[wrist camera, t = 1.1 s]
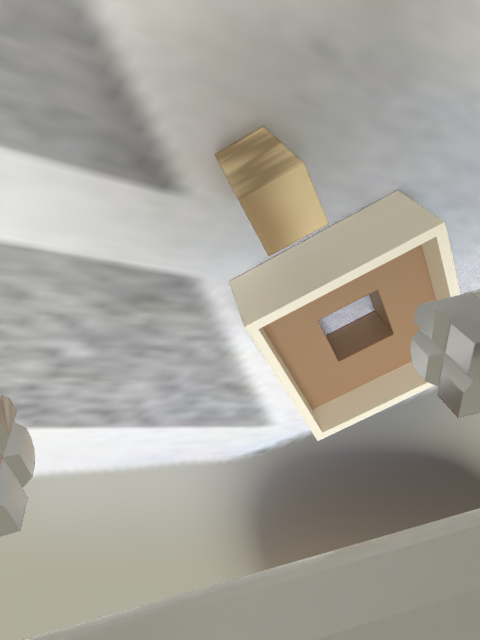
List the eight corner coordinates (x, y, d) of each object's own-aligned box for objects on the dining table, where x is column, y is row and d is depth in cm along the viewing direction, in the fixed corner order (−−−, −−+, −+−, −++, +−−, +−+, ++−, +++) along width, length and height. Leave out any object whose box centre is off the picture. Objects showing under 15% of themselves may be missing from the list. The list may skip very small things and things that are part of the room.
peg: (262, 126, 32) (304, 163, 24) (284, 175, 34) (328, 223, 26) (214, 154, 32) (239, 200, 24) (238, 200, 34) (268, 256, 26)
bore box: (397, 190, 36) (445, 221, 31) (434, 322, 46) (475, 365, 40) (229, 281, 38) (244, 326, 33) (296, 390, 48) (317, 440, 42)
